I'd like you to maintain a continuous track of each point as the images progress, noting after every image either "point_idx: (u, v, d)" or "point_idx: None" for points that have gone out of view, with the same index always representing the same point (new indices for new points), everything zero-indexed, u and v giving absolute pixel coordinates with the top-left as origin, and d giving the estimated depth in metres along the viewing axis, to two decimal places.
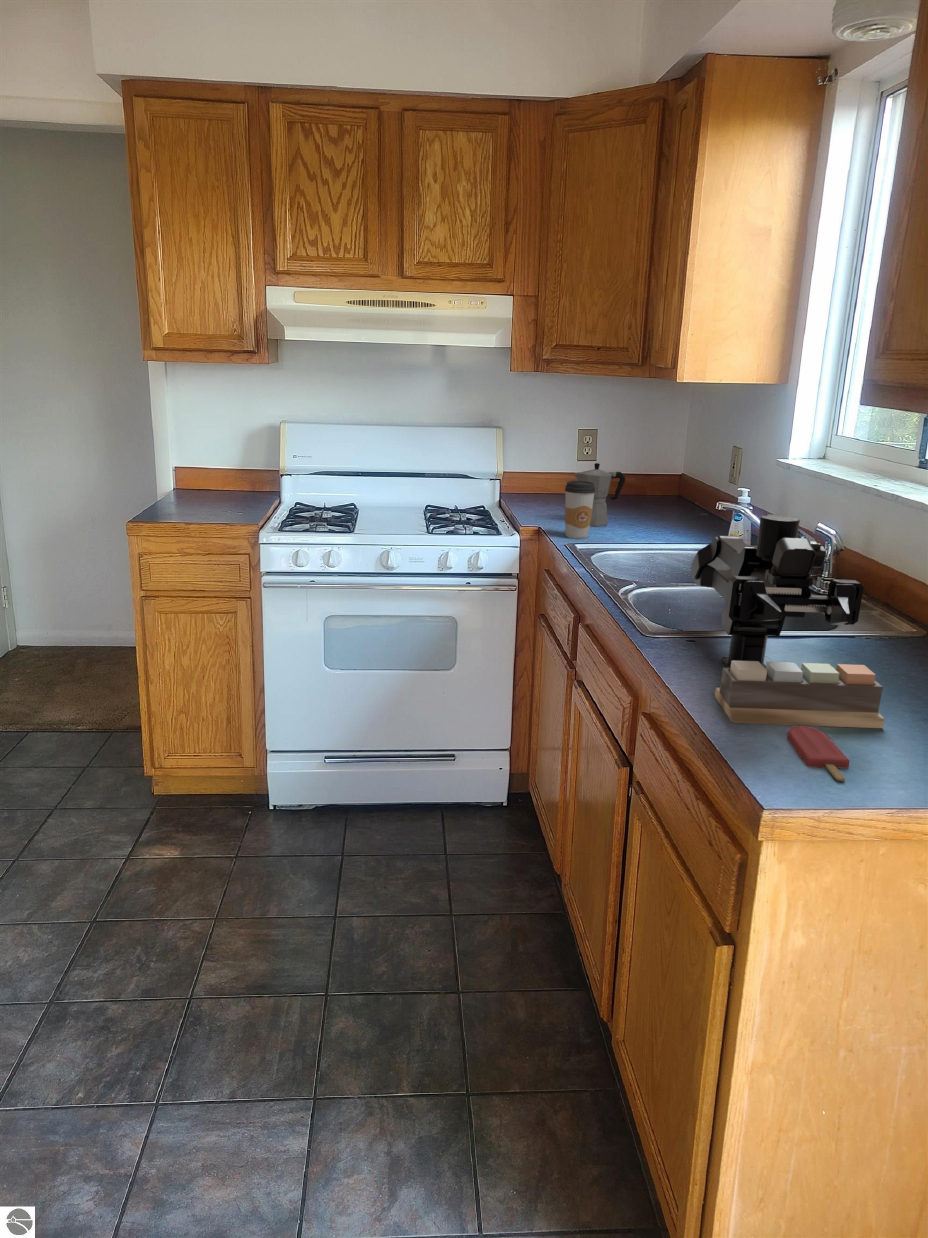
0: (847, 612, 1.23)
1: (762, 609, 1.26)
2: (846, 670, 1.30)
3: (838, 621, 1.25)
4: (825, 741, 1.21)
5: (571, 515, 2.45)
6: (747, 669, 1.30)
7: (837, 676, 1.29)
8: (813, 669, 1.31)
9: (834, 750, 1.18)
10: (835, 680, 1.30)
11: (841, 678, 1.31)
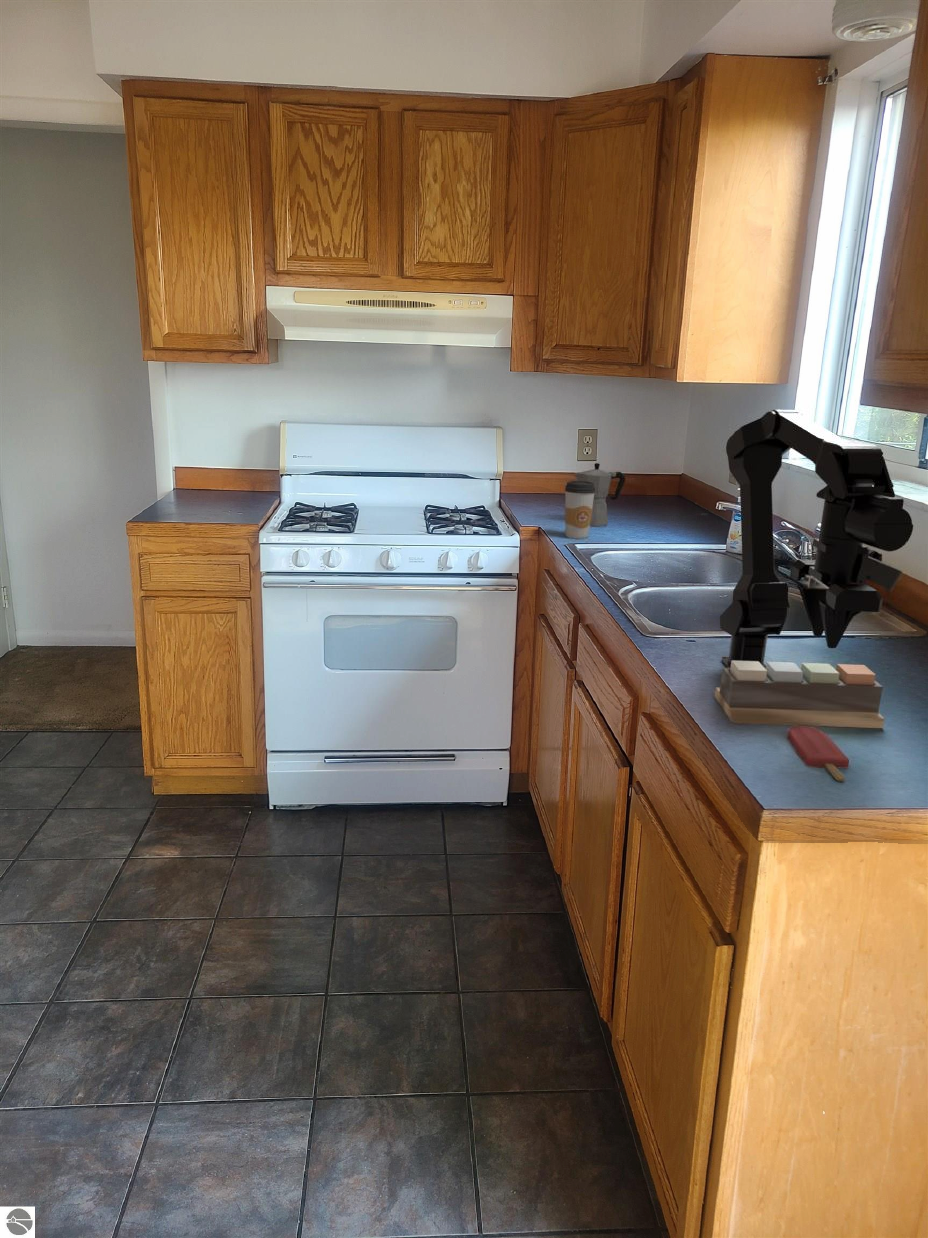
0: (822, 632, 1.32)
1: (836, 623, 1.25)
2: (846, 670, 1.30)
3: (811, 617, 1.32)
4: (825, 741, 1.21)
5: (571, 515, 2.45)
6: (747, 669, 1.30)
7: (837, 676, 1.29)
8: (813, 669, 1.31)
9: (834, 750, 1.18)
10: (835, 680, 1.30)
11: (841, 678, 1.31)
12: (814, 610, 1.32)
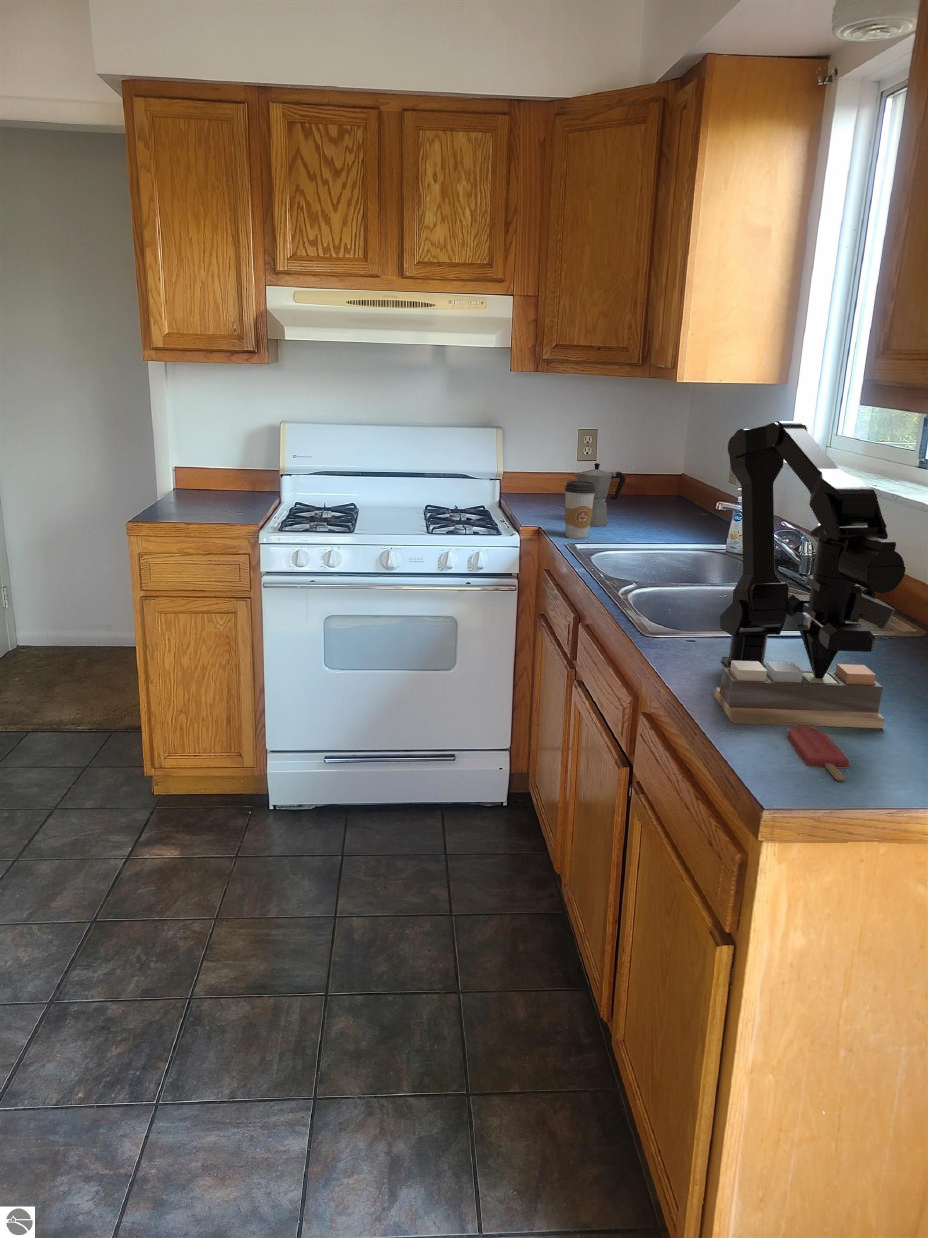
0: None
1: (823, 654, 1.29)
2: (846, 670, 1.30)
3: None
4: (825, 741, 1.21)
5: (571, 515, 2.45)
6: (747, 669, 1.30)
7: None
8: (811, 678, 1.31)
9: (834, 750, 1.18)
10: None
11: (841, 678, 1.31)
12: None
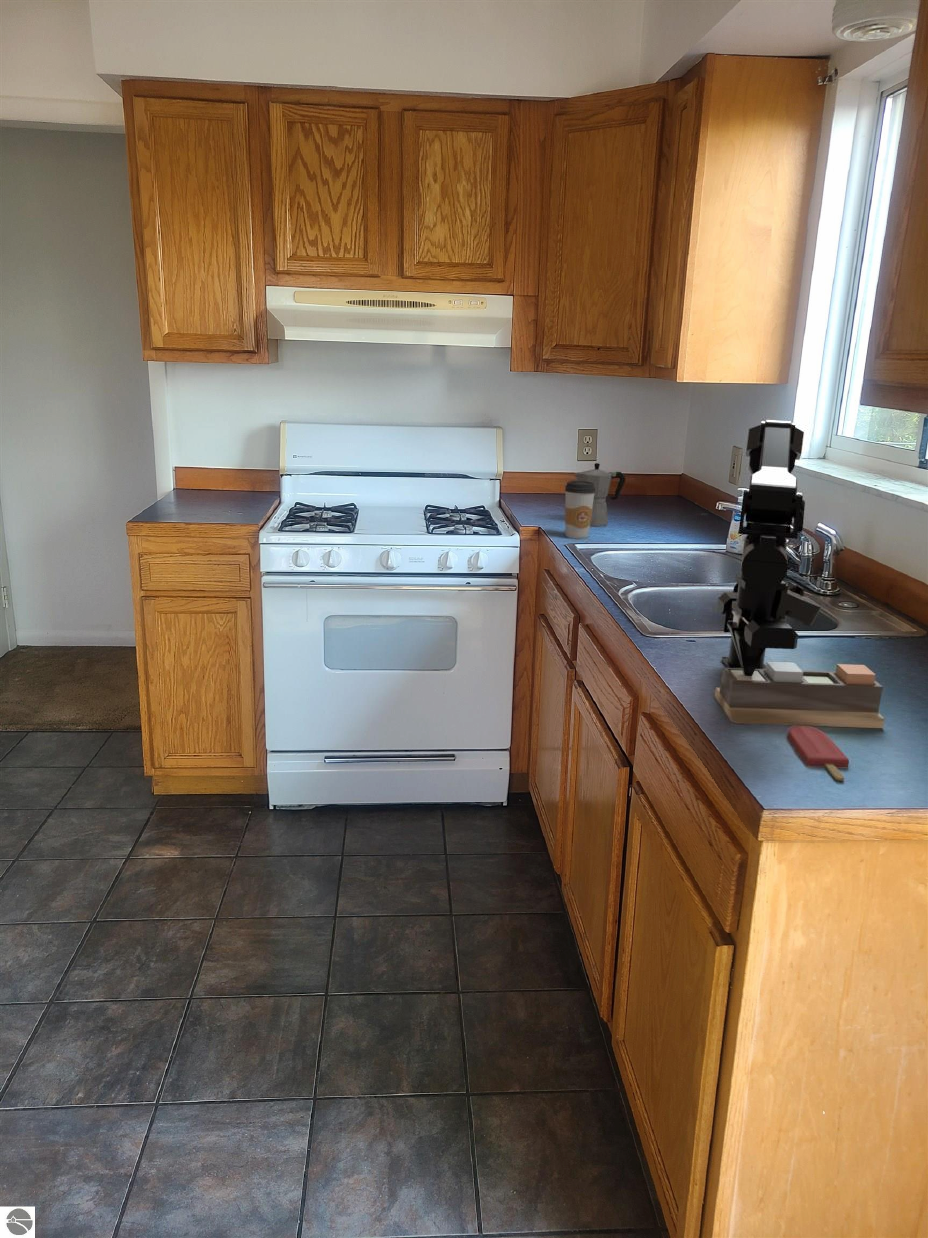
0: None
1: (751, 652, 1.29)
2: (846, 670, 1.30)
3: (740, 656, 1.31)
4: (825, 741, 1.21)
5: (571, 515, 2.45)
6: (746, 679, 1.30)
7: None
8: (811, 682, 1.31)
9: (833, 750, 1.18)
10: None
11: (841, 678, 1.31)
12: None
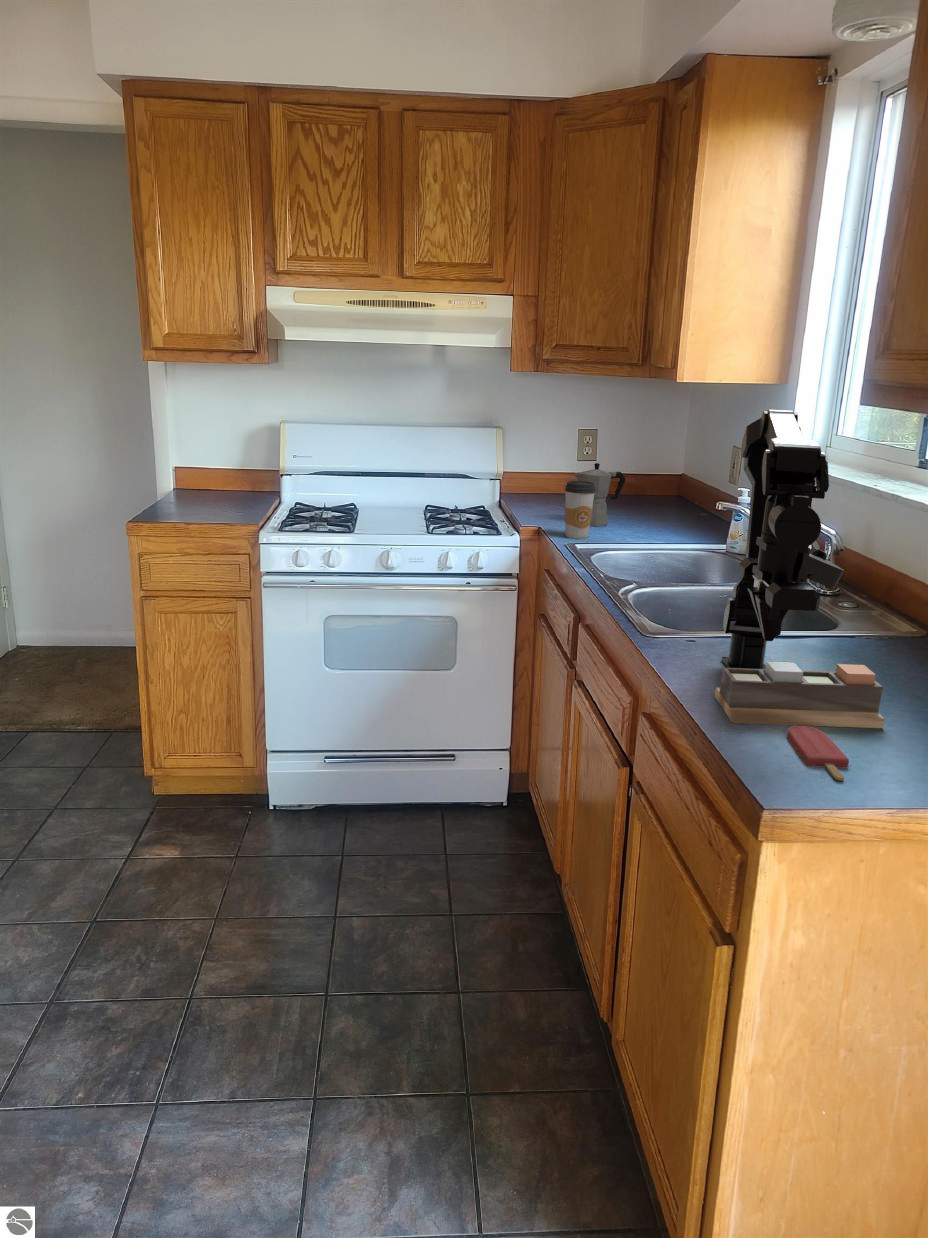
0: None
1: (772, 616, 1.27)
2: (846, 670, 1.30)
3: (761, 620, 1.29)
4: (824, 741, 1.21)
5: (571, 515, 2.45)
6: None
7: None
8: (811, 682, 1.31)
9: (833, 750, 1.18)
10: None
11: (841, 678, 1.31)
12: None
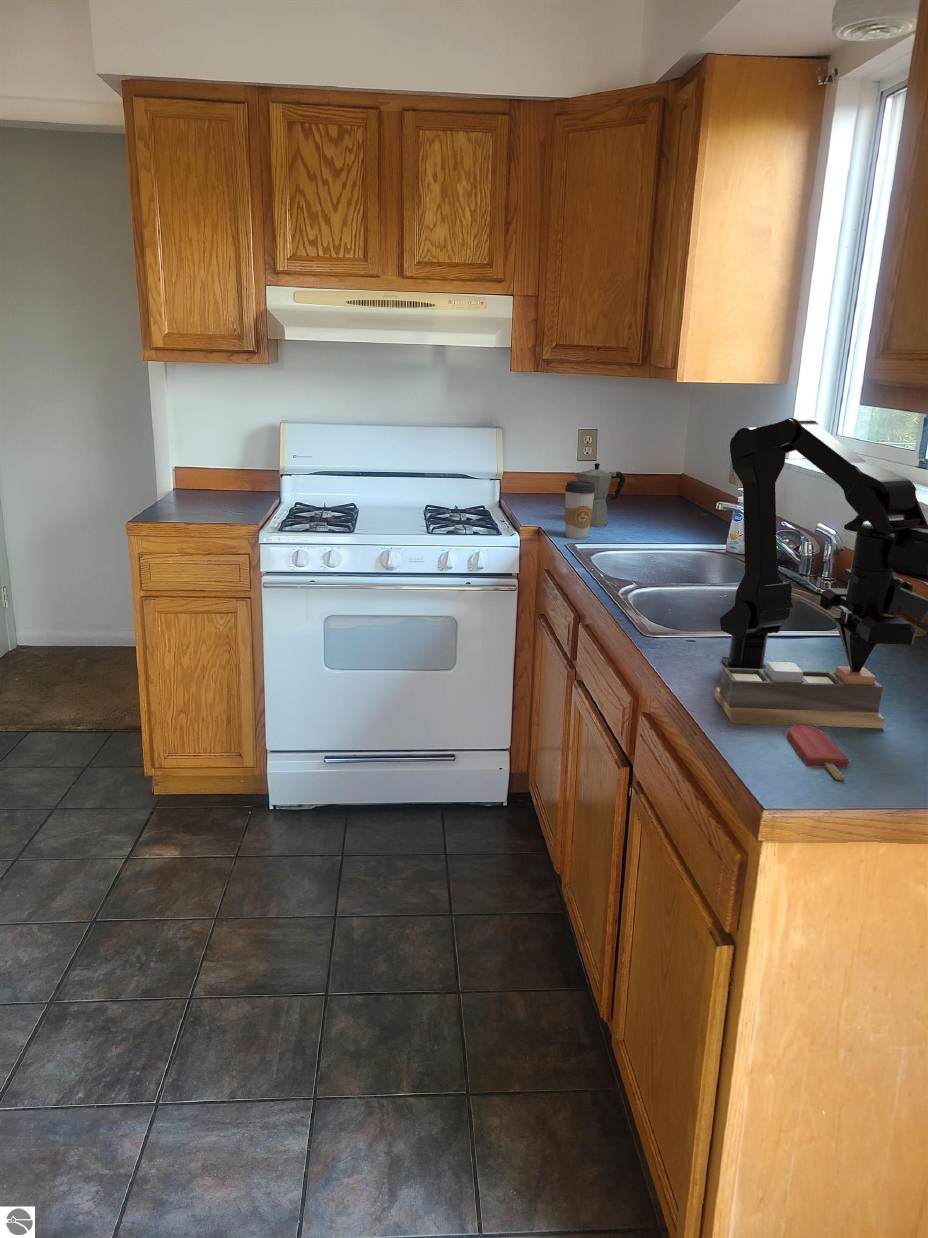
0: None
1: (861, 648, 1.29)
2: (846, 672, 1.31)
3: None
4: (824, 740, 1.21)
5: (571, 515, 2.45)
6: None
7: None
8: (811, 682, 1.31)
9: (833, 749, 1.18)
10: None
11: (841, 680, 1.31)
12: None
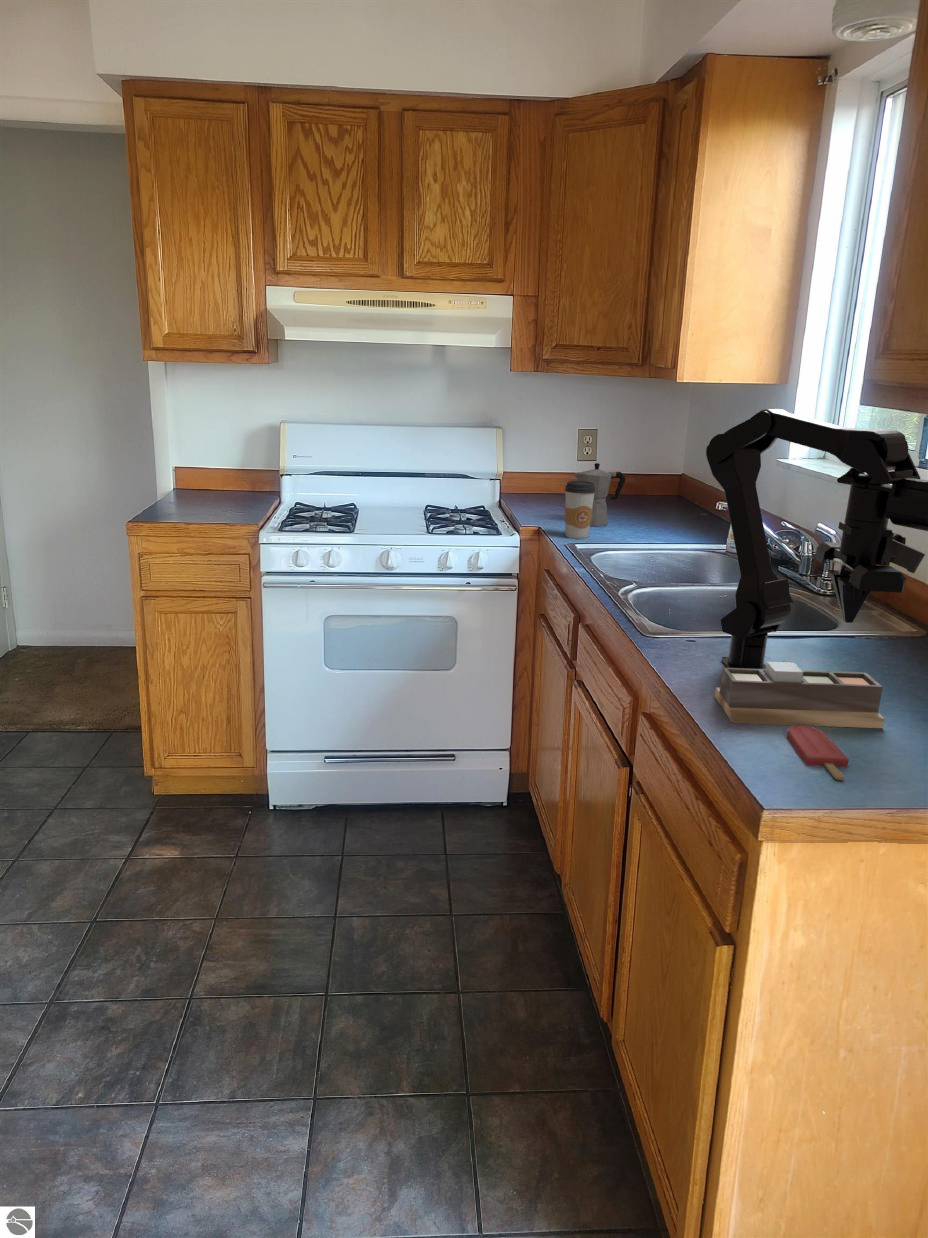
0: None
1: (853, 598, 1.32)
2: (844, 683, 1.31)
3: None
4: (824, 740, 1.21)
5: (571, 515, 2.45)
6: None
7: None
8: (811, 682, 1.31)
9: (833, 749, 1.18)
10: None
11: None
12: None
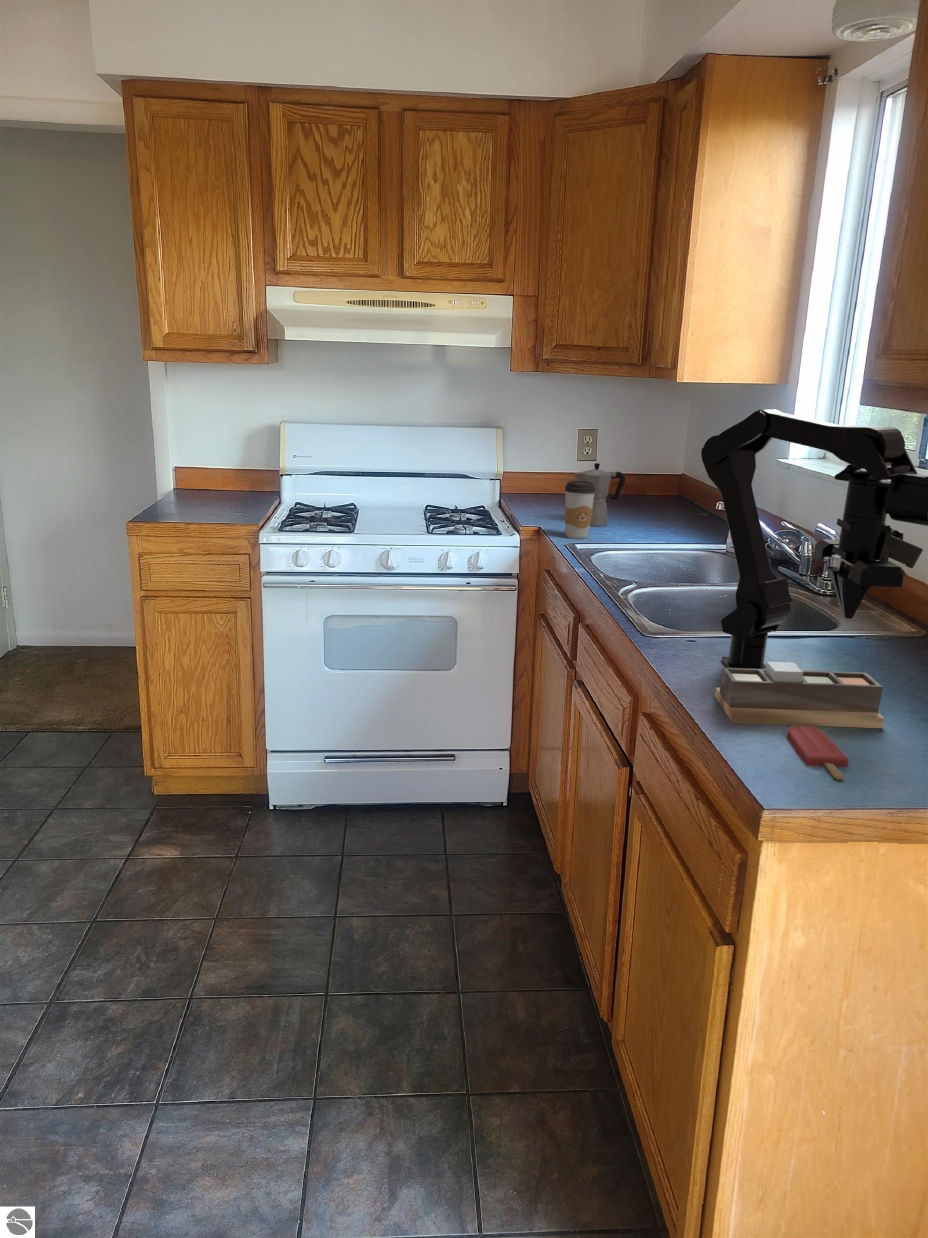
0: None
1: (853, 594, 1.33)
2: (844, 683, 1.31)
3: (841, 599, 1.34)
4: (824, 740, 1.21)
5: (571, 515, 2.45)
6: None
7: None
8: (811, 682, 1.31)
9: (833, 749, 1.18)
10: None
11: None
12: None
